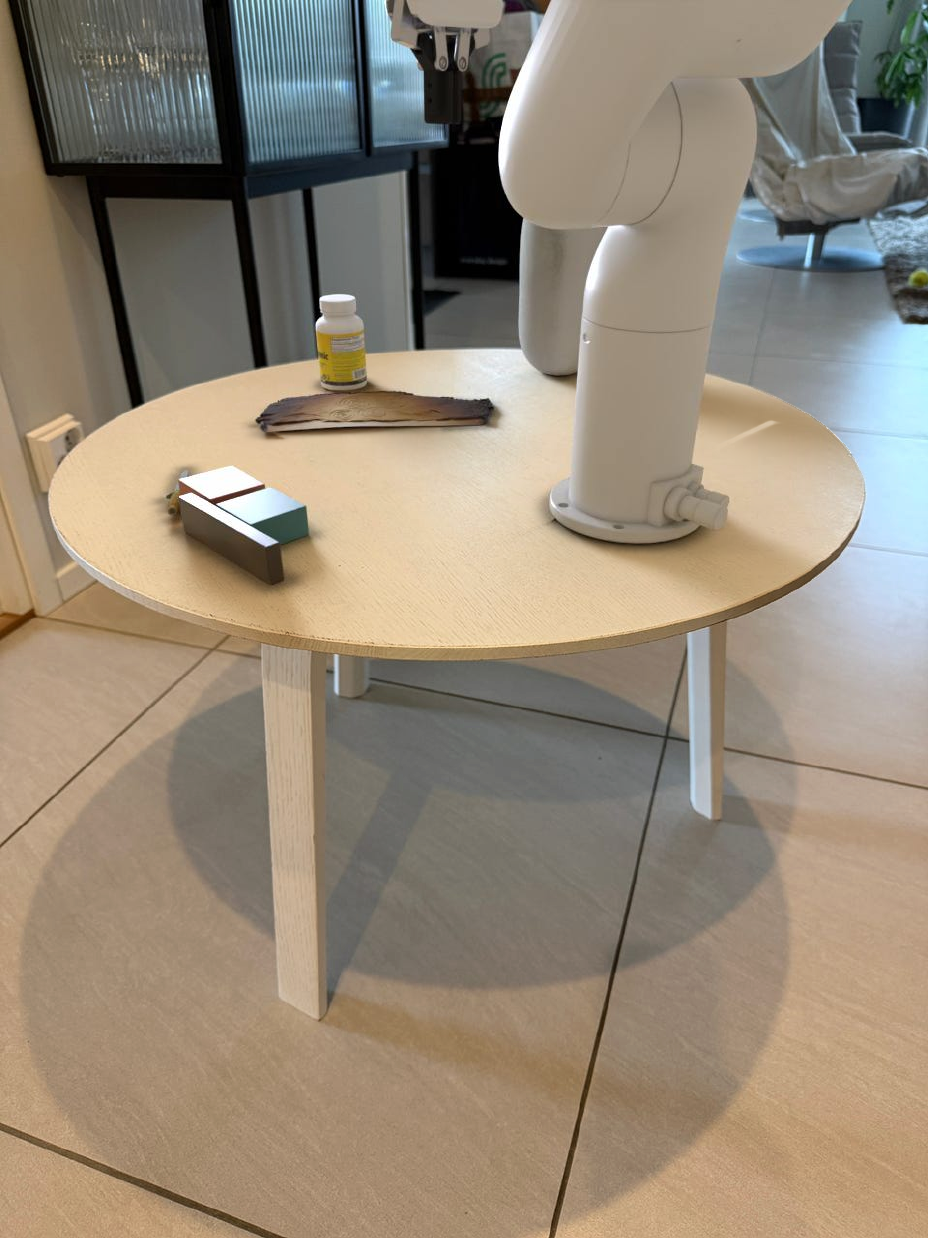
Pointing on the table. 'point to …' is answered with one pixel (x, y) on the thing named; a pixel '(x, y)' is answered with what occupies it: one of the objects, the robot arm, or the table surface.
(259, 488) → the tile
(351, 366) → the supplement bottle
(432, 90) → the robot arm
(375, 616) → the table surface
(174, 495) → the dagger
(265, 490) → the tile
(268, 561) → the stop bar
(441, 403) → the parchment
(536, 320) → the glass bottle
